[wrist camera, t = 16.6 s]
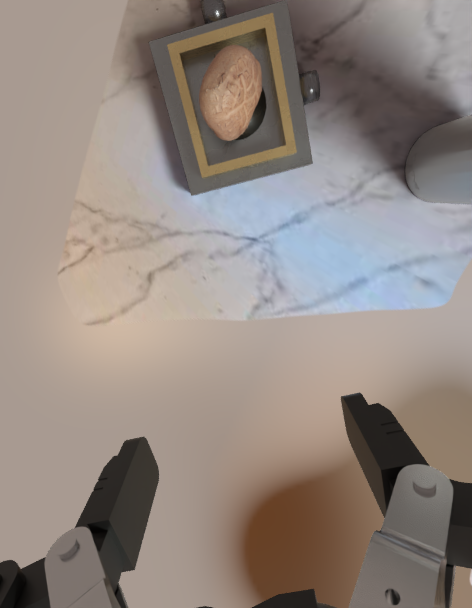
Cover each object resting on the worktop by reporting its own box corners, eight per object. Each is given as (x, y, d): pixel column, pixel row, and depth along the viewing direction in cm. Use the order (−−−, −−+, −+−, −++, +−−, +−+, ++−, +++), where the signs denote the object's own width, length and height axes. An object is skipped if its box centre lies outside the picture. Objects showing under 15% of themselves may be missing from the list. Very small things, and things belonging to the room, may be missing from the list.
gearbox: (295, -24, 35) (304, -58, 30) (323, 161, 41) (334, 157, 36) (146, 22, 36) (133, -4, 32) (194, 195, 42) (188, 195, 38)
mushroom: (244, 55, 35) (246, 17, 27) (277, 107, 36) (288, 84, 29) (190, 106, 36) (178, 82, 29) (224, 153, 38) (222, 142, 30)
